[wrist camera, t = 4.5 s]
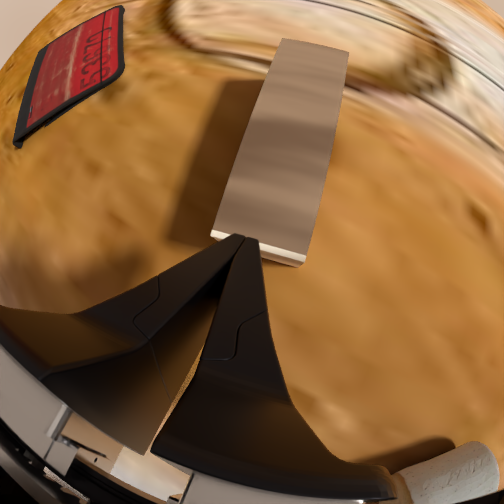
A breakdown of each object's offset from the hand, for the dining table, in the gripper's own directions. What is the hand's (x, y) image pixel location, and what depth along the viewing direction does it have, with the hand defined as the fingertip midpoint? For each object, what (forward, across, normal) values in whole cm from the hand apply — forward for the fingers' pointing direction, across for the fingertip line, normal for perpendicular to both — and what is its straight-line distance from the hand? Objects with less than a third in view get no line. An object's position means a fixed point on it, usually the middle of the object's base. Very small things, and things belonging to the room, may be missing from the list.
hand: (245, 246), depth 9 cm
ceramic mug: (-5, -19, +16) cm, 25 cm away
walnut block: (+4, 0, +4) cm, 6 cm away
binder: (+19, +30, -6) cm, 36 cm away
